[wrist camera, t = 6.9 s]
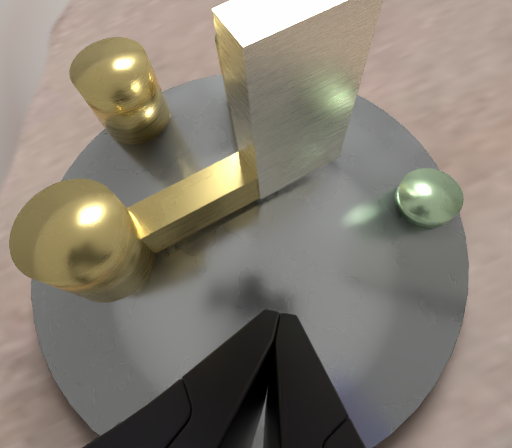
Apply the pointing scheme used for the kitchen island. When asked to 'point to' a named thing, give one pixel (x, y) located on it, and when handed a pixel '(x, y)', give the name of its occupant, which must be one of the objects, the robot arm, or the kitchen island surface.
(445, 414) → the kitchen island surface
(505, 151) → the kitchen island surface
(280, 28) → the lever
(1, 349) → the kitchen island surface
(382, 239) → the base
